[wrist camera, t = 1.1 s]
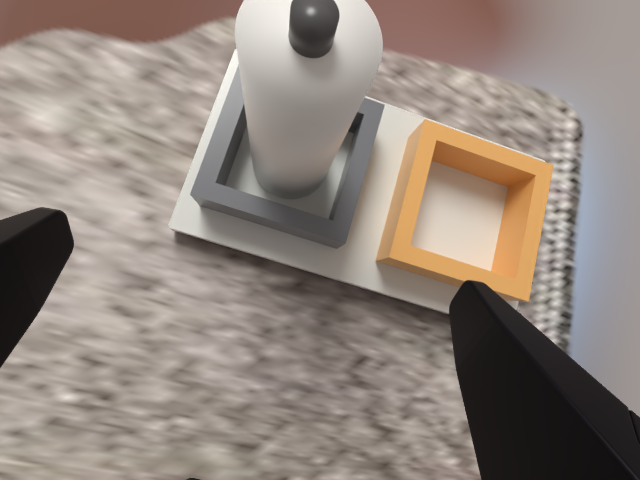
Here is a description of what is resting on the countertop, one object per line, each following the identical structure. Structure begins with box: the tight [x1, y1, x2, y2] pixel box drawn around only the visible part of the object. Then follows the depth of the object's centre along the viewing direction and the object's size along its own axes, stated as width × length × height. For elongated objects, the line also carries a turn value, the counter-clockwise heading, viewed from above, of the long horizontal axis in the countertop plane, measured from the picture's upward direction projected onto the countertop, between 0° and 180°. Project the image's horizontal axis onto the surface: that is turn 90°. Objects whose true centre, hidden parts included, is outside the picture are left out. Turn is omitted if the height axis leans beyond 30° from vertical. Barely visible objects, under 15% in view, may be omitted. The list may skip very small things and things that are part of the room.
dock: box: [168, 49, 553, 314], centre depth 21 cm, size 12×22×4 cm, turn 74°
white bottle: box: [235, 0, 383, 199], centre depth 16 cm, size 5×5×12 cm
